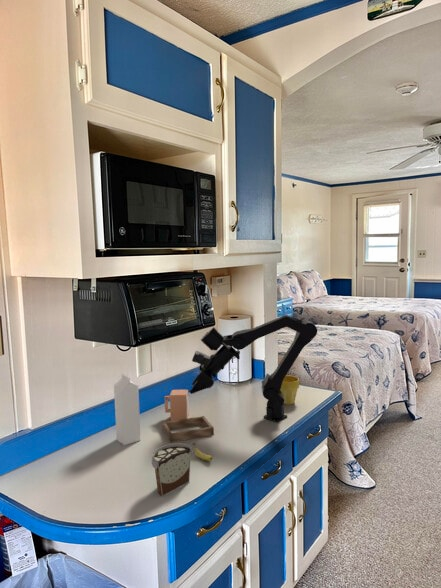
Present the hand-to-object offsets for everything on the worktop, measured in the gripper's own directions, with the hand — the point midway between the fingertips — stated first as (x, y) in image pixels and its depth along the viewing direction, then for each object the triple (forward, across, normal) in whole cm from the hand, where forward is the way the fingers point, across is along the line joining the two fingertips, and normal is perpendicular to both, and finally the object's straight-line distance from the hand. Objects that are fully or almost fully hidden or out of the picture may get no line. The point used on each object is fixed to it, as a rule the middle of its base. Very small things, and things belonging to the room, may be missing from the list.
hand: (191, 388), depth 162 cm
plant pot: (-18, -16, +34) cm, 42 cm away
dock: (+8, +12, +8) cm, 17 cm away
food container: (+10, +46, +7) cm, 48 cm away
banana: (+4, +32, +12) cm, 34 cm away
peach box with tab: (+12, 0, +4) cm, 13 cm away
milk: (+22, +18, -6) cm, 29 cm away
